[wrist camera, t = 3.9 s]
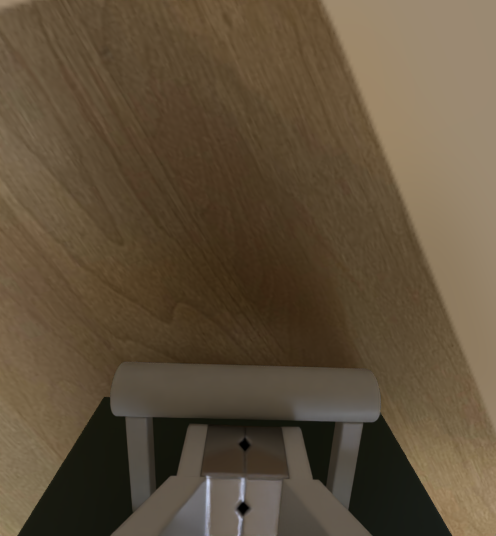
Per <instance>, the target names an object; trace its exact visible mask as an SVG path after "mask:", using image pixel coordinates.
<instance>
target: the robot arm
mask: <svg viewBox="0 0 496 536" xmlns="http://www.w3.org/2000/svg"><path fill="white" fill-rule="evenodd" d="M110 536H372V535H371V534H370V533H369V532H368V531H367V530H366V529H365V528H364V527H363V525H362V524H361V523H360V522H359V521H358V520H357V519H356V518H355V517H354V516H353V515H352V514H351V513H350V512H349V511H348V510H347V509H346V508H345V507H344V506H343V505H342V504H341V502H340V501H339V500H338V499H337V498H336V497H335V496H334V495H333V494H332V493H331V492H330V491H329V490H328V489H327V488H326V487H325V486H324V485H323V484H322V483H321V482H320V481H319V480H313V478H312V474H311V469H310V465H309V461H308V457H307V453H306V448H305V444H304V440H303V436H302V432H301V429H300V428H299V427H259V426H233V425H215V424H209V425H207V424H191V423H190V424H189V426H188V428H187V433H186V437H185V441H184V446H183V450H182V454H181V459H180V463H179V467H178V472H177V476H170V477H169V478H168V479H167V480H166V481H165V482H164V483H163V484H162V485H161V486H160V487H159V488H158V489H157V490H156V491H155V492H154V493H153V494H152V495H151V496H150V497H149V498H148V499H147V500H146V501H145V502H144V503H143V504H142V505H141V506H140V507H139V508H138V509H137V510H136V511H135V512H134V513H133V514H132V515H131V516H130V517H129V518H128V519H127V520H126V521H125V522H124V523H123V524H122V525H121V526H120V527H119V528H118V529H117V530H116V531H115V532H113V533H112V534H111V535H110Z"/></svg>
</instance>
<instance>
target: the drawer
mask: <svg viewBox="0 0 496 536" xmlns="http://www.w3.org/2000/svg"><path fill="white" fill-rule="evenodd" d="M380 410H381V396H380V389H379V385H378V382H377V379H376V377H375V375H374V373H373V372H372V371H371V370H369V369H360V368H325V367H290V366H256V365H221V364H187V363H152V362H123V363H121V364H120V365H119V367H118V368H117V370H116V373H115V375H114V378H113V382H112V386H111V393H110V397H104V398H103V399H102V401H101V403H100V404H99V406H98V407H97V409H96V411H95V412H94V414H93V415H92V417H91V419H90V420H89V422H88V423H87V425H86V427H85V428H84V430H83V431H82V433H81V435H80V436H79V438H78V439H77V441H76V443H75V444H74V446H73V447H72V449H71V451H70V452H69V454H68V455H67V457H66V459H65V460H64V462H63V463H62V465H61V467H60V468H59V470H58V471H57V473H56V475H55V476H54V478H53V479H52V481H51V483H50V484H49V486H48V488H47V489H46V491H45V492H44V494H43V496H42V497H41V499H40V500H39V502H38V504H37V505H36V507H35V508H34V510H33V512H32V513H31V515H30V516H29V518H28V520H27V521H26V523H25V524H24V526H23V528H22V529H21V531H20V532H19V534H18V536H110V535H111V534H112V533H113V532H115V531H116V530H117V529H118V528H119V527H120V526H121V525H122V524H123V523H124V522H125V521H126V520H127V519H128V518H129V517H130V516H131V515H132V514H133V513H134V512H135V511H136V510H137V509H138V508H139V507H140V506H141V505H142V504H143V503H144V502H145V501H146V500H147V499H148V498H149V497H150V496H151V495H152V494H153V493H154V492H155V491H156V490H157V489H158V488H159V487H160V486H161V485H162V484H163V483H164V482H165V481H166V480H167V479H168V478H169V477H170V476H177V472H178V467H179V463H180V459H181V454H182V450H183V446H184V441H185V437H186V433H187V428H188V426H189V424H190V423H191V424H207V425H209V424H215V425H233V426H259V427H299V428H300V429H301V432H302V436H303V440H304V444H305V448H306V453H307V457H308V461H309V465H310V469H311V474H312V478H313V480H319V481H320V482H321V483H322V484H323V485H324V486H325V487H326V488H327V489H328V490H329V491H330V492H331V493H332V494H333V495H334V496H335V497H336V498H337V499H338V500H339V501H340V502H341V504H342V505H343V506H344V507H345V508H346V509H347V510H348V511H349V512H350V513H351V514H352V515H353V516H354V517H355V518H356V519H357V520H358V521H359V522H360V523H361V524H362V525H363V527H364V528H365V529H366V530H367V531H368V532H369V533H370V534H371V535H372V536H452V535H451V533H450V531H449V529H448V528H447V526H446V524H445V523H444V521H443V519H442V517H441V516H440V514H439V512H438V511H437V509H436V507H435V505H434V504H433V502H432V500H431V498H430V497H429V495H428V493H427V492H426V490H425V488H424V486H423V485H422V483H421V481H420V480H419V478H418V476H417V474H416V473H415V471H414V469H413V467H412V466H411V464H410V462H409V461H408V459H407V457H406V455H405V454H404V452H403V450H402V449H401V447H400V445H399V443H398V442H397V440H396V438H395V437H394V435H393V433H392V431H391V430H390V428H389V426H388V424H387V423H386V421H385V419H384V418H383V416H382V414H381V412H380Z"/></svg>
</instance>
